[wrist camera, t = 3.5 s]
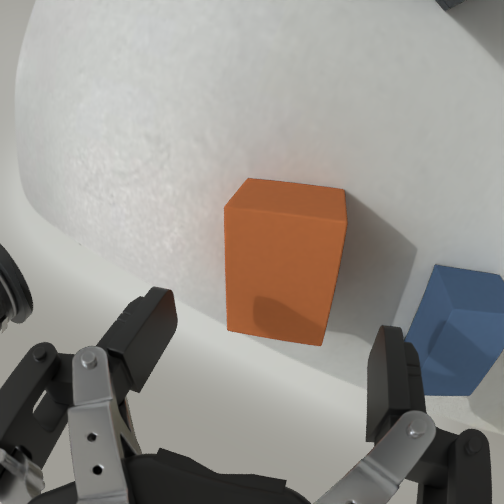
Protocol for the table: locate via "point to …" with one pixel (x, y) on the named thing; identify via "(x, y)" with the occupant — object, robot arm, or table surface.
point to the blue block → (458, 330)
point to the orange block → (283, 258)
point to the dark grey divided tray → (448, 3)
